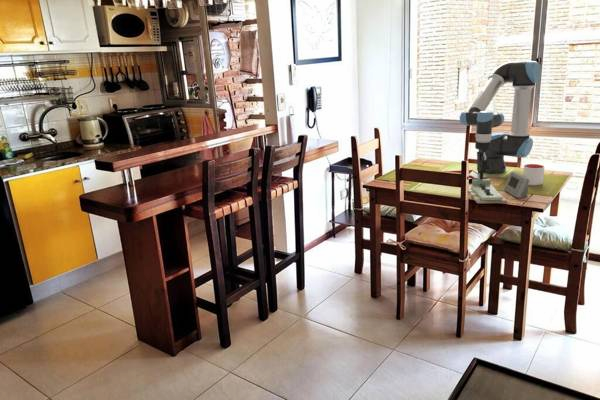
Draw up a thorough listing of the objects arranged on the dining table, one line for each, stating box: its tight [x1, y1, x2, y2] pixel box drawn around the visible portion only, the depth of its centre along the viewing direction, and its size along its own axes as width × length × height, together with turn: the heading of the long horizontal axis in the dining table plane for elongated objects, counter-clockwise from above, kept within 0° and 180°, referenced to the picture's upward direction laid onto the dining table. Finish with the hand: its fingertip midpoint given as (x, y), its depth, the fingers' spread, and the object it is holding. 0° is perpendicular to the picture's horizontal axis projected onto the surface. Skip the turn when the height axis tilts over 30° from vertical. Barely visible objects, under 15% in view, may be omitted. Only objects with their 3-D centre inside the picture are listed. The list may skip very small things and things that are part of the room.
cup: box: [522, 163, 545, 187], centre depth 250 cm, size 10×10×10 cm
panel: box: [470, 178, 504, 200], centre depth 234 cm, size 22×10×4 cm, turn 173°
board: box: [468, 183, 508, 204], centre depth 237 cm, size 29×14×4 cm, turn 173°
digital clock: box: [503, 171, 529, 199], centre depth 234 cm, size 16×9×11 cm, turn 170°
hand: (480, 184), depth 245 cm, fingers closed
